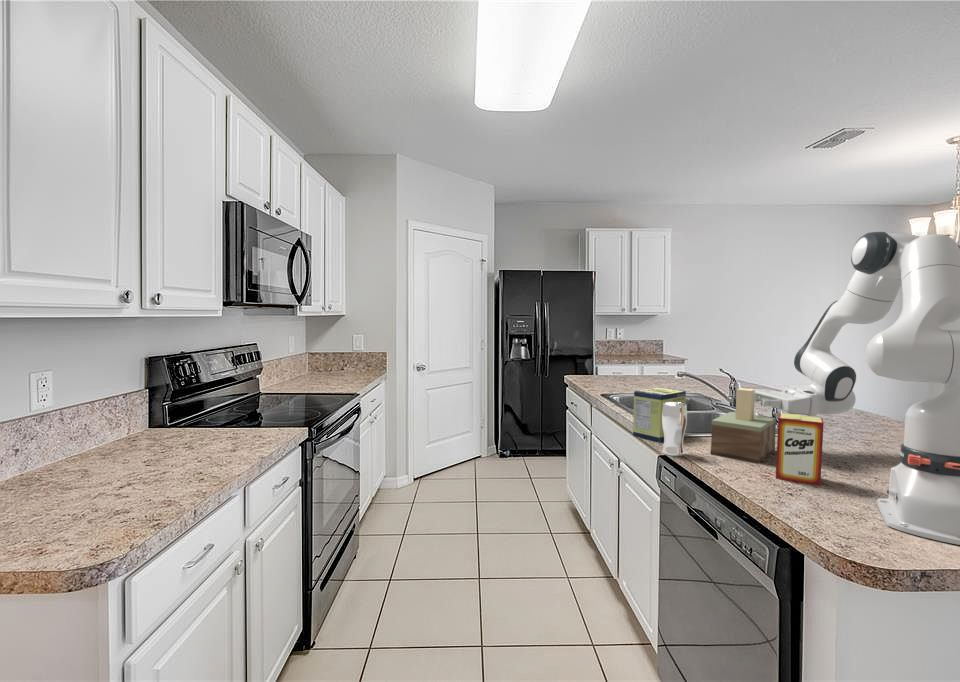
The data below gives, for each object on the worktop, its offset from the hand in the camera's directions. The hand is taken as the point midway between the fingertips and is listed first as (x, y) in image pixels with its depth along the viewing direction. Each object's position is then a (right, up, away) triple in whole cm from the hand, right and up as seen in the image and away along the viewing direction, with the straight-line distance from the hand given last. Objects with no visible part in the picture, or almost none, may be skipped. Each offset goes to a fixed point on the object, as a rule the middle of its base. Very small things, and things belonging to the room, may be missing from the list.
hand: (752, 400), depth 151 cm
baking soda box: (-1, -18, -22) cm, 28 cm away
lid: (-2, -8, 0) cm, 8 cm away
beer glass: (-24, -16, -1) cm, 29 cm away
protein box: (-21, -15, +21) cm, 33 cm away
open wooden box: (-2, -16, +1) cm, 16 cm away
